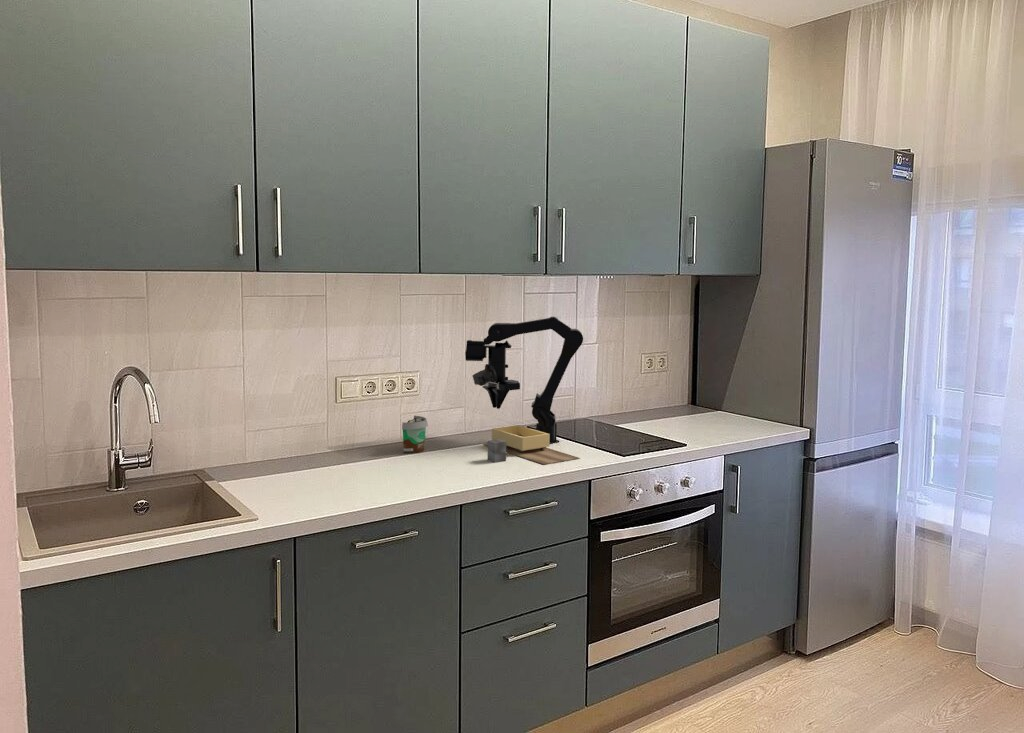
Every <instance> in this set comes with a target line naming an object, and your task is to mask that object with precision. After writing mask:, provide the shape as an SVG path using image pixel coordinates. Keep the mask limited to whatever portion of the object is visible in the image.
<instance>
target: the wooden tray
mask: <svg viewBox="0 0 1024 733" xmlns="http://www.w3.org/2000/svg"><path fill="white" fill-rule="evenodd" d="M497 439H499V440H503V441H506V445H507V446H510V447H513V448H516V449H517V451H518V452H519V453H520V452H524V450H530V449H536V448H540V449H545V448H549V447H550V444H551V443H550V434H548V433H544V432H541V431H537V430H535V429H533V428H530V427H526V426H522V425H519V424H517V425H515V424H514V425H509V426H501V427H493V428H491V440H497ZM549 443H550V444H549Z"/></svg>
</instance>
